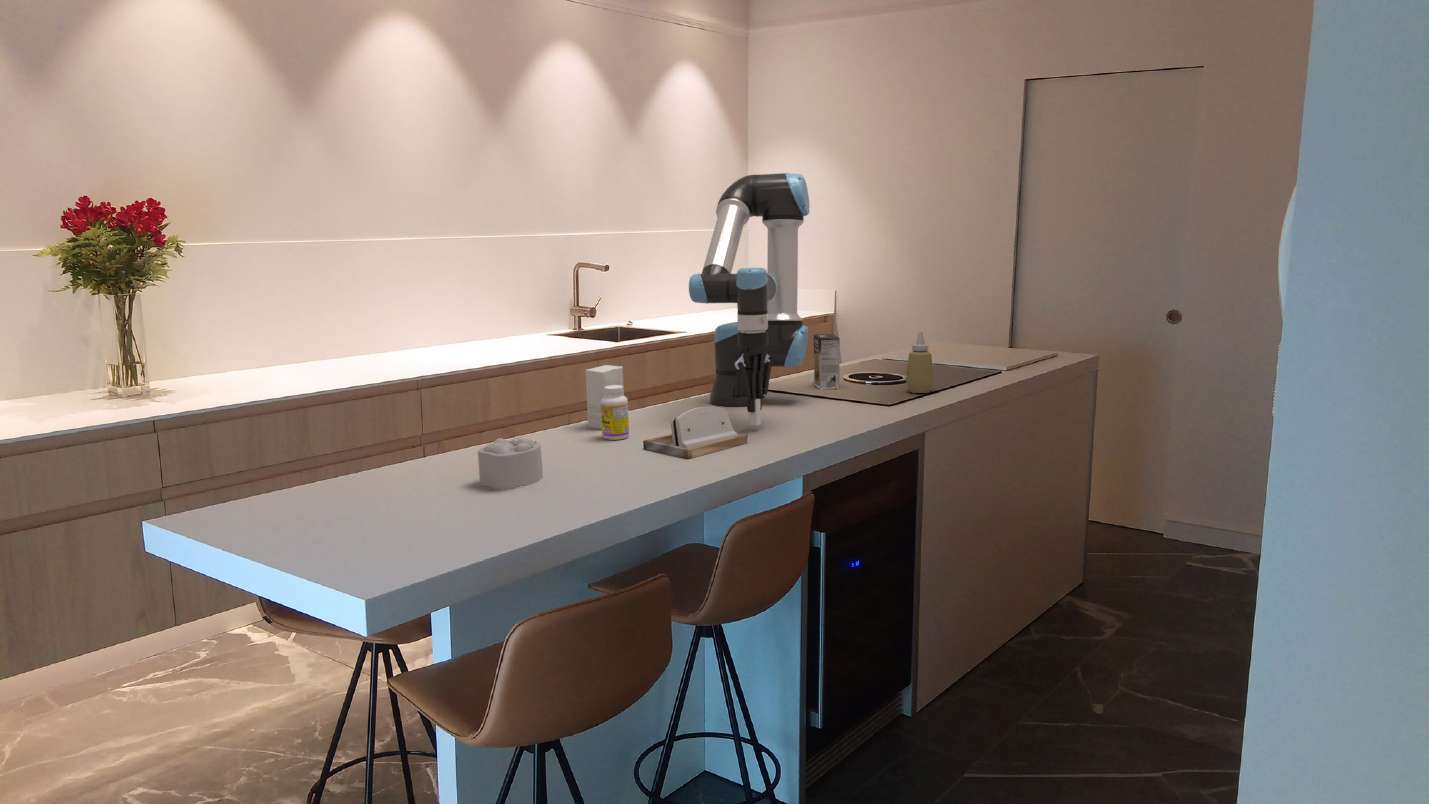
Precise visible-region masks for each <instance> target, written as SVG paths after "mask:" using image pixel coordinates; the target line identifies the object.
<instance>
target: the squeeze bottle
mask: <svg viewBox="0 0 1429 804" xmlns="http://www.w3.org/2000/svg"><path fill="white" fill-rule="evenodd" d="M915 342H916V343H914V344H912V345H911V347H912V348H911V350H912V351H910V352H909V353H908V358H907V359H908V360H907V366H906V367H907V368H906V369H907V370H906V377H905V381H906V385H907V389H908V391H909V393H911V392H912V394H915V393H925V394H929V393H930V392H931V389H932V386H933V384H934V381H935V380H934V379H935V378H934V370H933V369H934V368H933V367H934V366H933V358H932V353H931V352H930V351H929V344H927V343H926V344H925V339H924V333H923V332H918V334H917V337H916V341H915Z"/></svg>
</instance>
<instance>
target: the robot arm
mask: <svg viewBox="0 0 1429 804" xmlns="http://www.w3.org/2000/svg"><path fill="white" fill-rule="evenodd" d="M810 206H811V205H810V196H809V190H808V186H807V182H806V179H805V177H804V176H803V175H802V174H800V173H792V172H791V173H790V172H785V173H784V172H782V173H767V174H764V173H763V174H749V175H745V176H743V177H740V178H738V179H737V180H735V181H734V182H733V183H731V184H730V185H729V187H728V188H726V189H725V191H724V192H723V193H722V194H721V197H720V198H719V199H718V203H717V205H716V209H715V210H716V211H715V212H716V213H715V214H716V217H717V219H716V222H715V226H714V229H713V233H712V236H711V238H710V239H711V240H710V243H709V247H708V250H707V253H706V256H705V257H706V258H705V259H704V263H703V267H702V271H701V273H700V272H698V273H694V274H692V275H691V276H690V278H689V282H688V294H689V297H690V300H691V302H694V303H696V304H706V305H707V304H737V306H736V307H737V317H736V318H737V321H735V322H728V323H724V324H723V323H722V324H720V325H717V327H715V330H714V341H713V343H714V367H715V368H714V370H715V372H714V373H715V376H714V380H713V384H712V389H711V392H710V394H709V402H710V403H711V404H712V405H716V406H721V407H722V406H724V407H745V406H747V407H746V410H747V412H748V424H749V425H752V426H760V425H762V424H761V423H762V422H761V421H762V420H761V414H762V413H761V411H762V409H763V408H762V406H763V405H762V402H763V400H764V399H765V398H766V395H767V394H768V393H769V383H770V380H771V379H770V378H771V377H770V376H771V371H772V368H773V367H777V368H779V367H780V368H791V367H792V368H793V367H794V368H795V367H800V366H801V365H802V364H803V363H804V360H805V358H806V354H807V349H808V343H809V327H808V326H806V325H804V324H803V323H804V322H803V318H802V317H801V316H800V315H799V314H798V286H799V285H798V284H799V283H798V282H799V281H798V280H799V279H798V274H799V273H798V270H799V268H798V266H799V265H798V264H799V262H798V261H799V257H798V256H799V228H800V227H801V226H802V225H803V224H804V221H805V220H804V218H805V217H806V216H809V215H810ZM804 216H805V217H804ZM752 217H762V221H761V222H762V224H763V225H764V226H765V227H766V229H767V269H766V268H765V267H742V268H739V269H738V270H737V271H736V273H732V271H733V267H734V263H735V260H736V256H737V253H738V248H739V245H740V241H741V237H742V234H743V229H744V225H746V224H747V223H748V221H749V220H750V218H752Z"/></svg>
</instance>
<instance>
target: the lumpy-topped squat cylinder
mask: <svg viewBox="0 0 1429 804" xmlns="http://www.w3.org/2000/svg"><path fill="white" fill-rule="evenodd" d="M541 445H542V444H541V443H540V442H539V441H537V440H533V439H530V438H524V437H522V436H521V437H519V436H518V437H513V439H511V440H507V439H505V438H501V437H499V438H497V439H495V440H494V441H493V443H489V444H486V445H485V447H482V448H480V449H478V450H477V459H478V461H477V462H478V475H479V485H480V486H482V487H486V486H488V488H491V487H492V488H491V489H493V488H494V490H497V489H504V490H503V491H505V489H509V490H514V489H518V487H519V488H521V487H520V486H523V487H527V486H529V484H530V485H533V484H535V483H536V484H537V483H538V482H539V481H541V480H542V479H543V478H544V476H543V460H542V459H543V458H542V446H541ZM537 481H538V482H537ZM526 485H527V486H526Z"/></svg>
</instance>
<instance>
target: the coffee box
mask: <svg viewBox="0 0 1429 804" xmlns="http://www.w3.org/2000/svg"><path fill="white" fill-rule="evenodd" d="M840 340H841V339H840V337H839V336H836V335H835V334H834V333H831V334H827V333H825V334H824V333H823V334H822V333H819V334H817V333H816V334H813V370H814V372H813V377H814V378H813V379H814V383H815V384H816V385H817V386H819V387H820V388H827V387H828V388H832V387H839V388H840V369H841V367H840V357H841V356H840V355H841V353H840V352H841V351H840V348H841V347H840V342H841V341H840ZM817 386H816V387H817Z"/></svg>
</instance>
